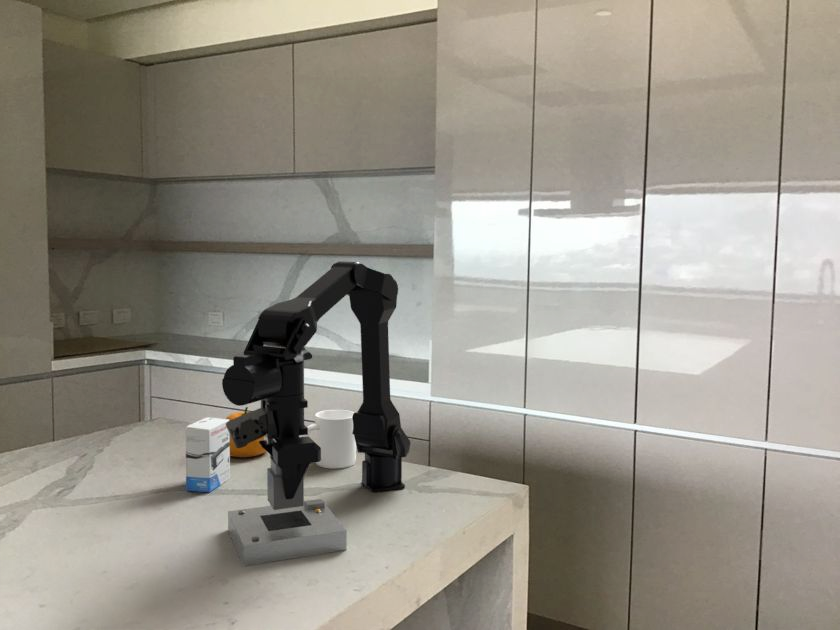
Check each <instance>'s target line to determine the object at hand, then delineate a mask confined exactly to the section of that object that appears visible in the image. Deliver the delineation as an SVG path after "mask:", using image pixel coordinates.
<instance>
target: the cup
mask: <svg viewBox="0 0 840 630" xmlns="http://www.w3.org/2000/svg"><path fill="white" fill-rule="evenodd" d="M354 413H355V412H354V411H351V410H346V409H345V410H344V409H327V410H320V411H319V412H316V413H315V414H314V423H312V424H309V425H308V426H306V427H307V428H308V435H302V437H307V436H309V435H310V433H311V432H312V431H314V442H315V443H316V444H317V445H318V446H319V447H320V448H321V461H319V462H315V464H316V465H317V466H318V467H320V468H323V469H332V470H333V469H334V470H337V469H345V468H349V467H351V466H353V465H354V464H356V458H357V446H356V442H355V437H354V434H352V433H353V419H352V417H353V414H354ZM309 437H310V436H309Z"/></svg>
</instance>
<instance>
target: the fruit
mask: <svg viewBox="0 0 840 630" xmlns="http://www.w3.org/2000/svg"><path fill="white" fill-rule="evenodd" d="M248 408H249V407H248V406H246V407H245V409H244V411H239V412H238V411H237V412H235V413H231V414H230V415H228V416H227V417H226V418H225V419H229V421H230V420H232V419H235V418H237V417H239V416H241V415H244V414H246V413H248V412H249V411H248ZM229 438H230V439H229V440H230V457H235V458H251V457H256V456H257V457H258V456H260V455H261V454H264V453H266V452H267V451H266V450H265V449H264V448H262V446H261V445H260V444H259V441H262V440H264V436H263V437H261V438H259V439H257V440H255V441H252V442H250V443H248V444H247V446H245V447H242V448H236V446H235V444H234V443H233V441H232V439H231V436H230V434H229Z"/></svg>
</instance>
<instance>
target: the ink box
mask: <svg viewBox="0 0 840 630" xmlns="http://www.w3.org/2000/svg"><path fill="white" fill-rule="evenodd" d="M228 421H229V419H226V418H219V417H210V416H208V417H204V418H202V419H200V420H198V421H194V423H190V424H188V425H186V428H185V429H184V430H185V431H184V433H185V434H184V435H185V491H187V492H188V491H190V492H201V493H211V492H213V491H214V490H216V489H217V488H219V487H220V486H221V485H223V484H224V483H226V482H227V481H228V480H230V479H231V460H230V459H231V456H230V440H229V439H230V438H229V431H228V429H227V426H226V423H227V422H228Z"/></svg>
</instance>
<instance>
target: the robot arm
mask: <svg viewBox="0 0 840 630" xmlns="http://www.w3.org/2000/svg"><path fill="white" fill-rule="evenodd" d="M398 294H399V284H398V282H397V280H396V279H394V277H393V276H392V275H391V274H390V273H384V272H381V271H379V270H376V269H373V268H370V267H367V265H365V264H363V263H360V262H359V261H337V262H334V263H333V264H332V265H331V266H330V269H329V270H327V271H326V272H325V273H324V274H323V275H322V276H321V277H319V278H318V279H317V280H315V281H314V282H313V283H312V284H311V285H309V286H308V287H307V288H306V289H304V290H303V291H302V292H301V293H300V294H298V295H297V296H295V297H294V298H292V299H288V300H284V301H281V302H278V303H275V304H273V305H271V306H270V307H268V308H266V309H263V311H262V312H260V314H259V316H258V318H257V319H258V320H257V322H256V324H255V327H254V329H253V330H252V333H251V336H250V337H249V340H248V341H247V344H246V346H245V349H244V351H243V355H241V354H239V355H234V356H233V357H232V358H233V361H232V363H233V364H232V365H230V366H229V367H228V368H227V369H226V370H225V373H224V375H223V378H222V380H221V381H222V382H221V386H222V390H223V394H224V395H225V397H226V399H227V400H228V401H229V402H230V403H231V404H233V405H235V406H238V407H239V406H246V405H248V404H253V403H257V402H260V407H259V408H258V409H257V408H256V409H255V410H251V411H247V412H248V413H246V414H244V415H241V416H239V417H237V418H235V419H232V420H230V421H228V422H227V423H226V426H227V429H228V431H229V434H230V436H231V439H232V441H233V443H234V444H235V446H236V448H242V447H245V446H247V444H248V443H250V442H252V441H255V440H257V439H259V438H261V437H263V436H264V440H262V441H259V444H260V445H261V446H262V448H264V449H265V450H266V451H265V452H267V453H268V454H269V458H270V461H271V460H272V461H273V462H274V463H275V464H276V465H278V466H279V467H280V471H281V477H282V482H283V488H284V493H285V498H286V499H293V498H294V496H295V493H296V491H297V489H298V487H299V485H300V483H301V480H302V478H303V476H304V475H305V474H306V472H307V470H308V469H309V466H310V464H311V463H312V464H313V463H316V462H319V461H321V448H320V447H319V446H318V445H317V444H316V443H315V440H313V439H312V438H311V437H310V436H307V437H303V435H308V428H307V427H308V426H306V425H305V409H308V407H309V405H308V404H309V403H308V399H306V398H305V361H308V360H311V359H312V358H313V354H312V353H311V352H310V351H308V350H307V349H306V348H305V347H306V346H307V344H308V343H309V342H310V341H311V340H312V338H313V337H314V336H315V334H316V333H317V330H318V322H319V320H320V319H321V318H322V317H323V316H324V315H326V314H327V313H328V312H329V311H330V310H331V309H332V308H333V307H335V306H336V305H337V304H338V303H339V302H340V301H342V299H344V298H345V297H346V296H348V297H349V304H350V309H351V311H352V313H353V315H354V316H355V317H356V319H357V321H358V323H359V325H360V326H359V327H360V329H359V330H360V350H361V352H360V353H361V377H362V378H361V379H362V403H361V405H360V406H359V408H358V410H357V412H354V414H353V417H352V419H353V433H352V434H354V437H355V442H356V452H358V453H364V460H362V461H361V483H362V484H364V486H365V487H367V488H368V489H369V490H370V491H371V492H372V493H374V492H375V493H376V492H382V491H390V490H392V491H393V490H399V489H405V488H406V484H405V483H404V482H403V481H402V480H403V479H402V477H403V476H402V475H403V474H402V473H403V471H402V469H403V466H402V464H403V462H402V461H403V458H407V456H408V454H409V453H410V447H411V439H409V437H408V436H407V434H406V433H405V431H404V430H403V428H402V424H401V415H400V412H399V411H398V409H397V408H396V406H395V404H394V403H393V401H392V400H391V383H390V382H391V380H390V379H391V378H390V377H391V376H390V349H389V348H390V347H389V345H390V344H389V320H390V319H391V318H392V315H393V314H394V312H395V310H396V309H397V302H398V301H397V300H398Z"/></svg>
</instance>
